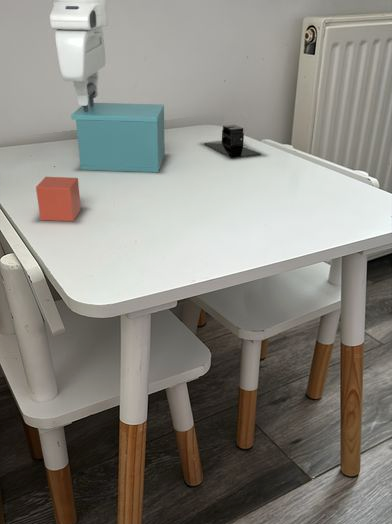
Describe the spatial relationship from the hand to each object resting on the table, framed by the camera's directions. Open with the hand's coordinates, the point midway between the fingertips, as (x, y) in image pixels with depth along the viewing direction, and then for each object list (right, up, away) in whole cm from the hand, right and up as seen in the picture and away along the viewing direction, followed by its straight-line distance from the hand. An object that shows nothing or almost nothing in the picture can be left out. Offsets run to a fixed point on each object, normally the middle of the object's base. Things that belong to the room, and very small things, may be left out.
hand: (88, 101), depth 103 cm
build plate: (+28, -4, +15) cm, 32 cm away
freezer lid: (+6, -2, +1) cm, 6 cm away
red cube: (-1, -25, -18) cm, 31 cm away
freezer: (+6, -9, +6) cm, 13 cm away
